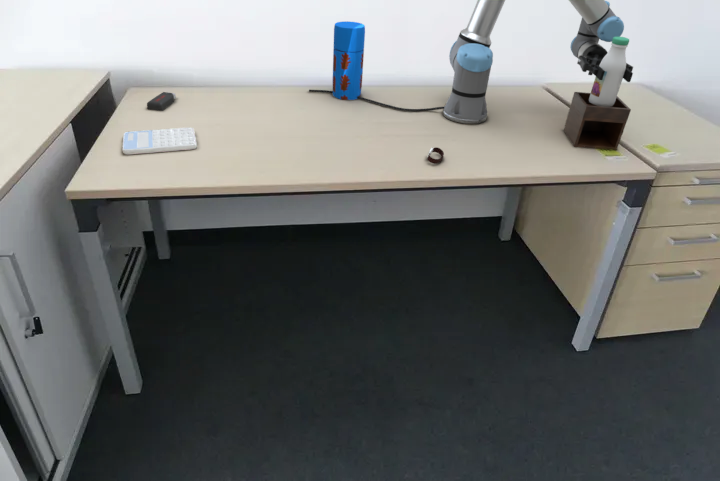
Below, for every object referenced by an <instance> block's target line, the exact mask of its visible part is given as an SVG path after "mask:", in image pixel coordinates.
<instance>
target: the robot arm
mask: <svg viewBox="0 0 720 481" xmlns="http://www.w3.org/2000/svg"><path fill="white" fill-rule="evenodd" d="M568 1H569V3H570V4H571V5H572V7H573V8H574V9H575V10H576V11H577V13H578V14H579V15H580V17H581V20H580V24H579V28H578V31H577V34H576V36H574V38H572V40H571V42H570V52H571V54H572V55H573V56H574V57H575V58H576V59H577V63H576V64H577V65H579V66H580V69H581V71H582V72H583V73H586V72H588V76H593V75H594V76H595V77H597V78H598V79H599V80H602V79H603V76H604V72H605V71H604V70H603V69H602V68H601V67H600V66H599V65H600V63H601V61H602V59H603V58H604V57H605V55H606V54H607V53H608V52H609V51H607V49H606V48H604V46H602V45H601V44H599V42H600V41H603V42H604V43H605V42H606V43H612V40H613V37H622V35H623V33H624V30H625V23H624V21H623V20H622V19H621V17H619V16H617V15H616V14H615V12H614V11H613V10H612V9H611V6H610V5H611V4H610V1H608V0H568ZM505 3H506V0H476V4H475V6H474V8H473V11H472V13H471V16H470V18H469V21H468V23H467V25H466V27H465V28H463V29H461V30H460V32H459V34H458V37H457V39H456V40H455V41H454V42H453V43H452V46H451V47H450V50H449V56H448V57H449V58H448V59H449V63H450V65H451V68H452V70H453V73H454V74H453V81H452V87H451V92H450V95H449V97H448V99H447V100H446V102H445V105H444V106H435V107H429V108H404V107H400V106H399V107H398V106H395V105H391V104H387V103H382V102H380V101H377V100H373V99H369V98H367V97H363V96H357V98H358V99H357V100H362V101H366V102H369V103H372V104H376V105H379V106H382V107H386V108H390V109H394V110H397V111H404V112H427V111H430V112H431V111H437V110H443V111H442V115H443V117H444V118H446V119H447V120H449V121H452V122H454V123H459V124H465V125H479V124H482V123H484V122H486V120H487V119H488V107H487V100H486V96H487V91H488V86H489V79H490V74H491V70H492V65H493V61H494V59H493V58H494V53H493V50H492V49H491V45H492V40H491V34H492V32H493V31H494V27H495V25H496V23H497V20H498V18H499V16H500V14H501V11H502V9H503V6H504V5H505ZM633 70H634V66H632V65H631V64H629V63H627V62H626V69H625V73H624V76H623V80H625V81H626V82H627V83H631V80H632V77H633V74H634V72H633ZM308 92H309V93H326V94H327V93H328V94H333V90H326V89H308Z"/></svg>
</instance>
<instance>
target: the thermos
mask: <svg viewBox="0 0 720 481" xmlns="http://www.w3.org/2000/svg"><path fill="white" fill-rule="evenodd" d="M365 37H366V25H365V24H363V23H361V22H357V21H337V22H335V23H334V27H333V49H332V50H333V52H332V53H333V54H332V91H333V93H332V96H333V97H334V98H336V99H338V100H344V101H354V100H359V99H358V98H357V96H360V97H362V96H361V95H362V88H363V72H364V58H365V57H364V55H365V54H364V53H365Z"/></svg>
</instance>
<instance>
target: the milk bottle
mask: <svg viewBox="0 0 720 481" xmlns="http://www.w3.org/2000/svg"><path fill="white" fill-rule="evenodd" d="M629 43H630V38H628V37H624V36H620V37H613V40H612V42H611V44H610V45H611V47H610V49H609V50H608V51H607V52H608V53H607V54H606V55H605V57H604V58H603V59H602V61H601V63H600V65H599V66H600V67H601V68H602V69H603V70H604V71H605V72H604V76H603V79H602V80H599V79H598V78H597V77H596V76H595V77H594V81H593V84H592V87H591V90H590V93H591V94H590V97H589V102H590V103H592V104H594V105H597V106H602V107H611V106H613V105H614V103H615V100H616V97H617V96H618V95H619V91H620V88H621V85H622V82H623V80H624V78H623V76H624V73H625V69H626V63H627V58H626V51H627V48H628V45H629Z"/></svg>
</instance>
